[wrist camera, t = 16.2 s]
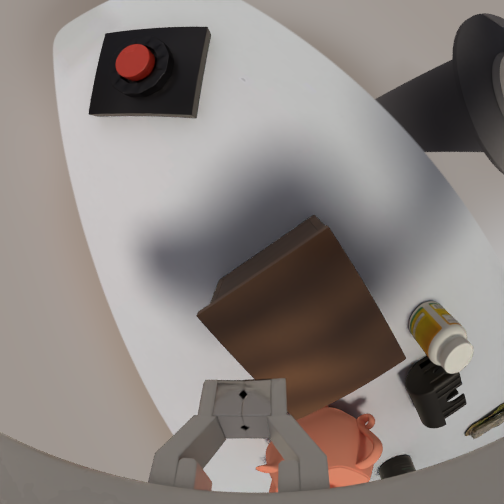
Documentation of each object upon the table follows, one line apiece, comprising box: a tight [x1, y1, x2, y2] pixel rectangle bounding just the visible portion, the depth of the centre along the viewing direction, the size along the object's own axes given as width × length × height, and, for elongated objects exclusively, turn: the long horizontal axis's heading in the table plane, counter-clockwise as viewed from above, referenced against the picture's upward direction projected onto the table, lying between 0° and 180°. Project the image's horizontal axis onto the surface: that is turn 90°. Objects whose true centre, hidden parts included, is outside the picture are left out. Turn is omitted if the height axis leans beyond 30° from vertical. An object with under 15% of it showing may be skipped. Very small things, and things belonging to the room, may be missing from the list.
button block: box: [89, 27, 211, 118], centre depth 26 cm, size 12×10×4 cm
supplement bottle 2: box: [409, 301, 473, 374], centre depth 30 cm, size 5×5×10 cm
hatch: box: [197, 225, 406, 420], centre depth 25 cm, size 15×13×1 cm
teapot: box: [256, 405, 383, 493], centre depth 34 cm, size 16×17×14 cm
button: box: [116, 44, 155, 81], centre depth 24 cm, size 4×4×2 cm
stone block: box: [465, 404, 504, 439], centre depth 39 cm, size 14×4×3 cm, turn 115°
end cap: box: [405, 356, 466, 428], centre depth 34 cm, size 10×7×7 cm
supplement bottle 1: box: [379, 455, 416, 479], centre depth 38 cm, size 7×7×12 cm
